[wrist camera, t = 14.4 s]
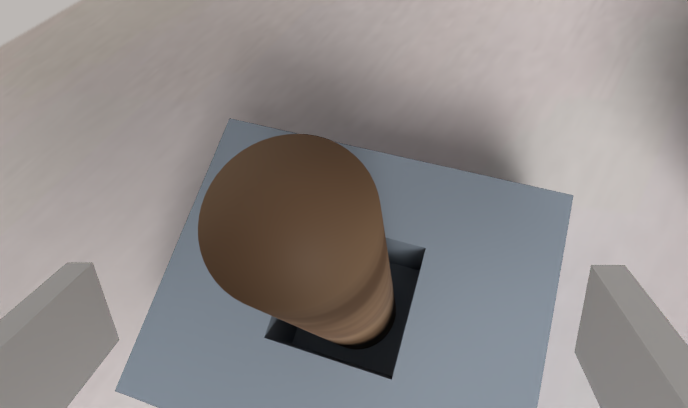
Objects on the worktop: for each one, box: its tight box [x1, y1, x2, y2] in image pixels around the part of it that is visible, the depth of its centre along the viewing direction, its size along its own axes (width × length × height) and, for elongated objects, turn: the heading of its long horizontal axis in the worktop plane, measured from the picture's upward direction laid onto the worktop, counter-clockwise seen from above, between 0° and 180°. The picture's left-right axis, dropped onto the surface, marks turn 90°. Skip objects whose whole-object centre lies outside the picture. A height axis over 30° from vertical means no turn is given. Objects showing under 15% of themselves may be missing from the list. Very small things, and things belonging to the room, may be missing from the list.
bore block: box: [115, 119, 573, 408], centre depth 22 cm, size 16×13×6 cm
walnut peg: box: [198, 134, 396, 349], centre depth 17 cm, size 4×4×15 cm
